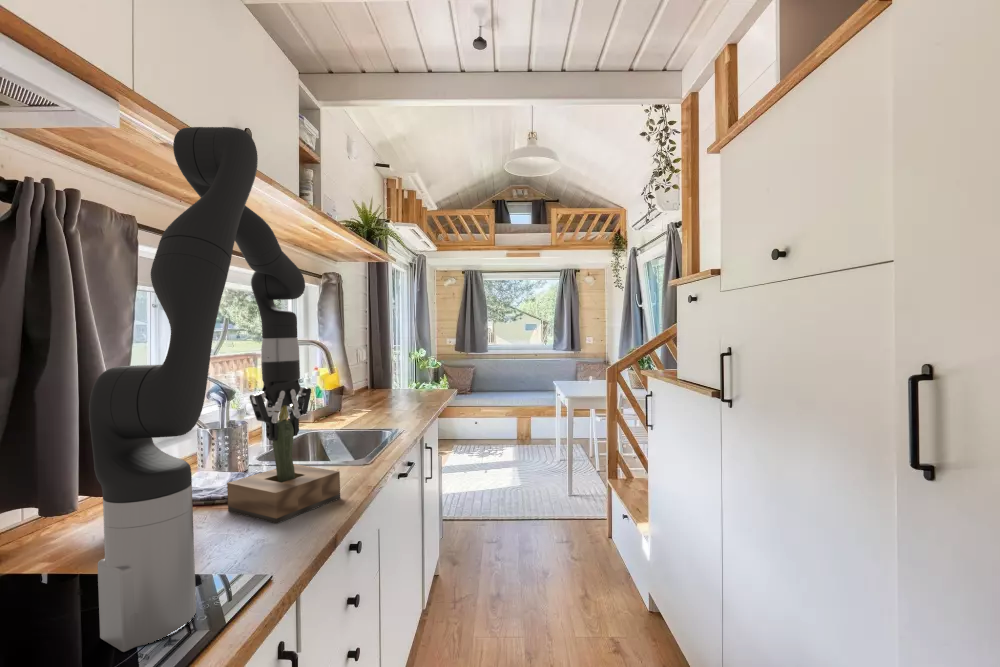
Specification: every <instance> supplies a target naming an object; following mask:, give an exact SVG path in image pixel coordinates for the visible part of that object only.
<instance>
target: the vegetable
mask: <svg viewBox="0 0 1000 667" xmlns="http://www.w3.org/2000/svg"><path fill="white" fill-rule="evenodd" d="M288 415H289V414H288V411H287V405H284V406H281V410H280V412H279V413H278V416H279V417H278V419H279V420H277V421H276V422H275V423H277V433H278V439H277V440H275V441H271V442H272V449H273V455H274V463H275V469H276V471H277V477H278V481H279V482H281V483H282V482H285V481H288V480H291V479H294V478H295V470H294V465H293V464H294V461H293V460H294V459H293V448H294V447H293V445H294V437H295V436H294V428H293V425H292V423H291V422H290V421H289V420H288V419H289V416H288Z"/></svg>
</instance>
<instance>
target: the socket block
mask: <svg viewBox="0 0 1000 667" xmlns="http://www.w3.org/2000/svg"><path fill="white" fill-rule="evenodd" d="M293 465H294V470H295V478H294V479H291V480H288V481H285V482H282V483H281V482H279V481H278V477H277V471H276V468H273V469H270V470H266V471H264V472H263V471H262V472H260V473H256V474H253V475H249V476H246V477H243V478H239V479H236V480H232V481H229V482H228V481H227V483H226V484H227V485H226V488H227V491H226V492H227V512H230V513H234V514H238V515H242V516H245V517H249V518H253V519H257V520H260V521H265V522H269V523H273V524H276V525H278V524H279V523H282V522H284V521H287V520H289V519H291V518H295V517H297V516H300V515H302V514H305V513H307V512H309V510H310V511H312V510H314V508H315V509H316V507H317V508H319V507H318V506H320V507H322V506H324V505H323V504H325V505H326V503H327V504H330V503H332V502H334V500H335V501H337V500H339V498H340V499H341V478H340V476H341V474H340V473H341V472H340V471H338V470H334V469H326V468H322V467H321V468H320V467H314V466H308V465H302V464H296V463H293ZM336 499H337V500H336ZM331 501H332V502H331ZM329 502H330V503H329ZM321 505H322V506H321ZM304 512H305V513H304Z"/></svg>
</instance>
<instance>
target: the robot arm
mask: <svg viewBox="0 0 1000 667" xmlns="http://www.w3.org/2000/svg"><path fill="white" fill-rule="evenodd" d="M256 146H257V145H256V142H255V140H254V139H253V138H252V136H251V134H249V133H248V132H247V131H246V130H244V129H241V128H238V127H231V126H192V127H184V128H183V127H182V128H181V129H179V130H178V131H177V132H176V134H175V135H174V139H173V146H172V148H173V154H174V160H175V161H176V165H177V166H178V169H179V171H180V173H181V174H182V176H183V177H184V179H185V180H186V181H187V183H188V184H189V185H190V186H191V187H192V189H193V190H194V191H195V192H196V194H197V195H198V196H199V197H200V198H199V199H198V200H196V201H195V202H194V203H193V204H191V206H189V207H188V208H186V210H184V211H183V212H182V213H181V214H180V215H178V216H177V217H176V218H175V219H174V220H173V221H172V222H171V223H170V224H169V225H168V226H167V227H166V229H164V231H163V233H162V234H161V237H160V240H159V242H158V247H157V249H156V251H155V255H154V258H153V261H152V263H151V264H152V265H151V270H150V279H151V280H150V281H151V284H152V289H153V291H154V294H155V295H156V298H157V299H158V301H159V303H160V305H161V307H162V309H163V311H164V313H165V315H166V318H167V321H168V324H169V328H170V336H169V337H170V338H169V345H168V350H167V353H166V356H165V359H164V361H163V363H162V364H143V365H140V364H139V365H121V366H114V367H111V368H109V369H106V370H105V371H104V372H102V373H101V374H100V375H99V376H98V377H97V379H96V380H95V381H94V384H93V386H92V388H91V392H90V397H89V401H88V402H89V403H88V419H89V420H88V421H89V430H90V438H91V439H90V440H91V448H92V458H93V469H94V473H95V476H96V480H97V481H98V483H99V485H100V486H101V490H102V507H103V508H102V511H103V514H102V516H103V538H104V539H103V542H104V558H102V559H100V560H98V562H97V582H98V583H97V586H98V589H97V590H98V608H99V610H98V614H99V615H98V616H99V638H100V639H101V640H103V641H104V642H106V643H108V644H109V645H111V646H112V647H114V648H116V649H118V650H119V651H120V652H123V653H125V652H128V651H130V650H132V649H134V648H137V647H141V646H144V645H149V644H151V643H155V642H157V641H156V640H158V639H161V640H163V639H164V638H163V637H166V636H167V635H168V634H170V633H171V632H173V631H175V630H177V629H178V628H180V627H181V626H183V625H184V624H185V623H187V622H188V621H190V620H191V618H192V617H193V616H194V615H195V613H196V614H197V594H196V569H195V568H196V566H195V540H194V539H195V538H194V537H195V536H194V514H193V513H194V511H193V510H194V509H193V508H194V507H193V504H194V503H193V482H192V481H193V479H192V478H193V477H192V468H191V465H190V464H189V462H187V461H186V460H184V459H181V458H178V457H176V456H173V455H170V454H169V453H167V452H165V451H163V450H161V449H160V448H159V447H158V446H157V445H156V444H155V442H154V440H153V438H154V439H155V438H172V437H173V438H175V437H181V436H184V435H186V434H188V433H190V432H191V431H192V430H193V429H194V428H195V426H196V425H197V423H198V421H199V419H200V417H201V414H202V411H203V409H204V408H203V407H204V404H205V398H206V393H207V392H206V391H207V385H208V379H209V378H208V377H209V369H210V361H211V355H212V346H213V338H214V332H215V328H216V324H217V318H218V314H219V309H220V305H221V302H222V301H221V300H222V298H223V293H224V291H225V286H226V282H227V280H228V275H229V271H230V266H231V261H232V256H233V250H234V246H235V244H236V245H237V247H238V248H239V251H240V253H241V254H242V257H243V258H244V259H245V262H246V264H248V266H249V268H250V269H251V270H253V271H254V272H253V274H252V275H251V278H250V285H251V290H252V293H253V296H254V299H255V301H256V305H257V309H258V310H259V315H260V320H261V349H260V350H261V355H260V356H261V378H262V379H261V380H262V382H263V387H262V389H261V391H260V392H259V393H258V392H257V393H256V394H254V393H252V394H250V395H249V400H250V403H251V406H252V410H253V412H254V416H255V418H256V421H258V422H263V423H265V431H266V432H265V434H266V435H265V436H266V438H267V439H268V440H269V441H271V442H272V441H275V440H277V439H278V433H277V423H276V422H277V421H278V420H277V419H278V416H279V414H280V410H281V406H284V405H287V411H288V414H289V415H288V418H287V420H289V421H290V422H291V423H292V425H293V428H294V437H296V436H298V433H299V431H300V418H301V416H303V415H307V413H308V408H309V405H310V404H309V403H310V398H311V393H312V389H311V388H310V387H303V386H302V387H301V385H300V382H299V380H300V379H301V370H300V369H301V367H300V366H301V365H300V346H299V341H298V317H297V314H296V313H295V312H293V311H290V310H286V309H285V310H283V309H280V308H277V306H276V304H275V302H274V301H281V300H282V301H283V300H297V299H299V298H300V297H302V295H303V294H304V292H305V289H306V282H305V278H304V275H303V273H302V271H301V270H300V268H299V267H298V266H297V264H295V262H293V260H291V259H290V258H289V256H288V255H287V254H286V253H284V251H283V249H282V248H281V245H280V243H279V241H278V239H277V237H276V235H275V233H274V231H273V229H272V228H271V227H270V226H271V225H269V224H268V223H267V222H266V220H264V219H263V218H262V217H261V216H260V215H259V214H257V213H256V212H255V211H254V210H253V209H251V208H250V207H248V206H247V202H248V199H249V197H250V194H251V191H252V188H253V185H254V183H255V179H256V176H257V171H258V163H259V162H258V156H259V155H258V151H257V150H258V149H257V147H256ZM297 396H298V397H297ZM266 400H267V401H266ZM265 402H266V405H265ZM155 445H156V446H157V447H156V446H155ZM195 616H196V615H195ZM162 638H163V639H162ZM166 638H167V637H166ZM154 641H155V642H154ZM148 643H149V644H148Z"/></svg>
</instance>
